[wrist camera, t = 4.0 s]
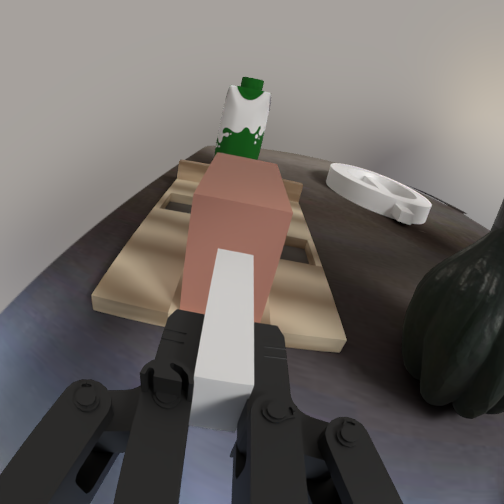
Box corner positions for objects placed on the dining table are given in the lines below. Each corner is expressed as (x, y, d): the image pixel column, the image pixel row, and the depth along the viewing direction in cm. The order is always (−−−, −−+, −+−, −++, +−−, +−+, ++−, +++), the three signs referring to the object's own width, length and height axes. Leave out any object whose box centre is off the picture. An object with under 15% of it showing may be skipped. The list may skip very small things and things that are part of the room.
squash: (555, 439, 9) (589, 250, 12) (402, 406, 14) (460, 176, 17) (476, 415, 23) (511, 288, 26) (361, 381, 27) (408, 244, 30)
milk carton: (208, 176, 57) (229, 73, 48) (214, 165, 65) (232, 76, 56) (253, 185, 58) (277, 83, 49) (253, 173, 66) (274, 85, 57)
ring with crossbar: (356, 179, 91) (361, 165, 89) (435, 219, 75) (441, 203, 73) (303, 179, 73) (308, 161, 71) (405, 232, 57) (414, 211, 54)
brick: (203, 233, 33) (217, 152, 29) (257, 243, 34) (277, 164, 30) (179, 310, 22) (193, 193, 18) (259, 324, 23) (293, 213, 18)
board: (177, 185, 50) (181, 159, 47) (295, 208, 52) (301, 183, 49) (93, 309, 22) (87, 261, 19) (339, 352, 24) (362, 311, 21)
